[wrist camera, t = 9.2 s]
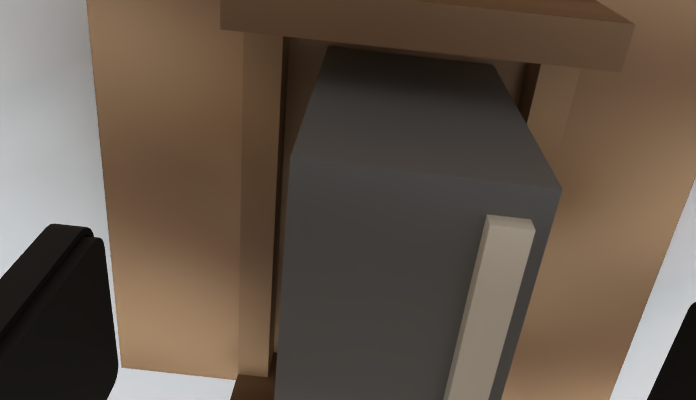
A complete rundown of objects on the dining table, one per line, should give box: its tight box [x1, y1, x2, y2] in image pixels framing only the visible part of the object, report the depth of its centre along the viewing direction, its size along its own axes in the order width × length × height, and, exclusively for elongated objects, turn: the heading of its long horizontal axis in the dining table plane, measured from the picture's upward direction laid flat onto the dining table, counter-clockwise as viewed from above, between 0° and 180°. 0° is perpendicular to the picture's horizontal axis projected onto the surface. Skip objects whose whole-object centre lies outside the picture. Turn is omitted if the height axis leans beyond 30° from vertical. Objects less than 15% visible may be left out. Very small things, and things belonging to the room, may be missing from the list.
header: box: [86, 0, 696, 400], centre depth 12 cm, size 22×14×4 cm, turn 175°
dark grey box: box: [274, 46, 563, 400], centre depth 13 cm, size 8×4×6 cm, turn 174°
